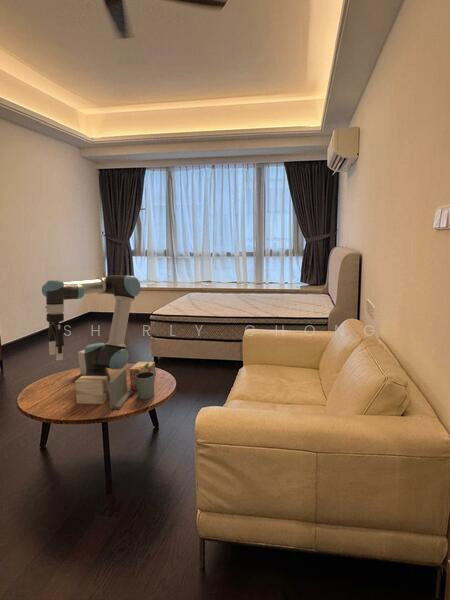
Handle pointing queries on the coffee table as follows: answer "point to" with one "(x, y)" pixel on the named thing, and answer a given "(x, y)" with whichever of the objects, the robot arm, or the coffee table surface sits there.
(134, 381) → the stack of blocks
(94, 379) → the ash block
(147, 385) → the green cup
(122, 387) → the stop board
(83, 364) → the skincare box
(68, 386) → the coffee table surface
